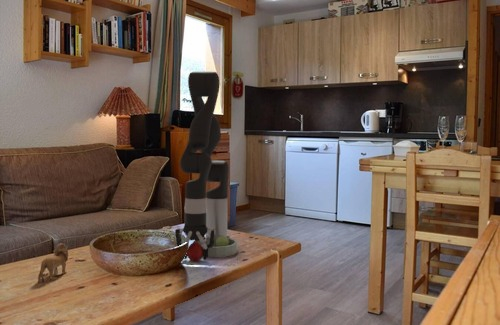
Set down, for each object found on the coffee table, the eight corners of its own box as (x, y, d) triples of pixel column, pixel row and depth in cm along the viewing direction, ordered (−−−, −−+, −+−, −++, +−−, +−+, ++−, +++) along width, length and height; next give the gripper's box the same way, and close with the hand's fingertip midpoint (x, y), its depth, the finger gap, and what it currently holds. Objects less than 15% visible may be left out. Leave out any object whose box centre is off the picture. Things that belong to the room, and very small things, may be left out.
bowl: (199, 246, 172) (199, 236, 171) (239, 248, 170) (239, 237, 170) (189, 258, 156) (190, 246, 155) (234, 260, 154) (234, 248, 154)
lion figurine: (55, 269, 141) (55, 242, 140) (72, 269, 141) (71, 242, 140) (33, 284, 126) (33, 254, 126) (52, 285, 126) (51, 254, 126)
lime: (216, 247, 168) (217, 234, 168) (229, 247, 168) (229, 235, 168) (214, 250, 163) (214, 237, 163) (227, 251, 163) (228, 238, 163)
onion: (195, 266, 146) (195, 243, 146) (183, 263, 150) (183, 240, 149) (207, 262, 151) (207, 239, 150) (195, 259, 154) (195, 237, 154)
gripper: (218, 209, 152) (217, 256, 153) (177, 208, 154) (177, 254, 155) (214, 213, 145) (213, 262, 146) (172, 212, 146) (171, 261, 147)
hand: (195, 258), depth 150 cm, fingers open, 6 cm apart
